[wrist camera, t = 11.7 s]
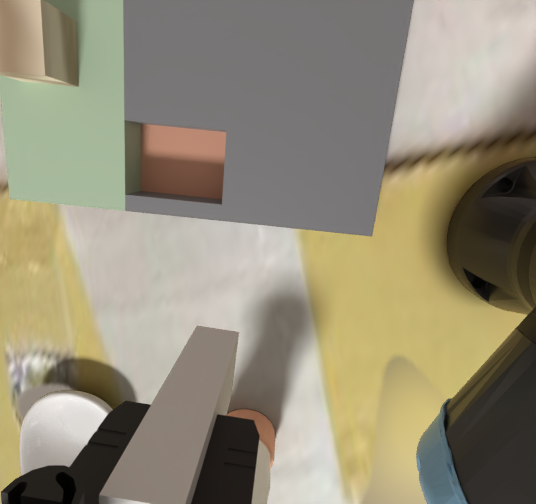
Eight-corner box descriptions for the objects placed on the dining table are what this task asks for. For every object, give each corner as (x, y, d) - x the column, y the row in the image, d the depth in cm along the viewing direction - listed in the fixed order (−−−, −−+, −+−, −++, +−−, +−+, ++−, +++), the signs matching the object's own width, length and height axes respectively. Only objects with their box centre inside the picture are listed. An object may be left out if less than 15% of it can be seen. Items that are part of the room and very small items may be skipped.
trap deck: (414, -77, 30) (433, -112, 26) (362, 227, 36) (372, 236, 33) (16, -110, 30) (-23, -149, 27) (38, 194, 37) (9, 198, 33)
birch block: (76, 21, 29) (40, -3, 25) (78, 86, 31) (45, 75, 26) (16, 15, 29) (-29, -9, 25) (21, 81, 31) (-21, 69, 26)
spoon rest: (49, 363, 43) (4, 403, 36) (143, 392, 43) (116, 437, 36) (25, 507, 49) (-18, 564, 42) (107, 531, 49) (78, 591, 43)
